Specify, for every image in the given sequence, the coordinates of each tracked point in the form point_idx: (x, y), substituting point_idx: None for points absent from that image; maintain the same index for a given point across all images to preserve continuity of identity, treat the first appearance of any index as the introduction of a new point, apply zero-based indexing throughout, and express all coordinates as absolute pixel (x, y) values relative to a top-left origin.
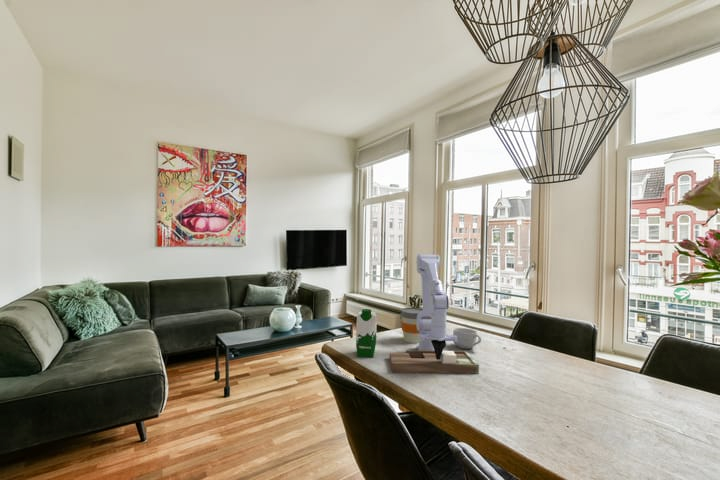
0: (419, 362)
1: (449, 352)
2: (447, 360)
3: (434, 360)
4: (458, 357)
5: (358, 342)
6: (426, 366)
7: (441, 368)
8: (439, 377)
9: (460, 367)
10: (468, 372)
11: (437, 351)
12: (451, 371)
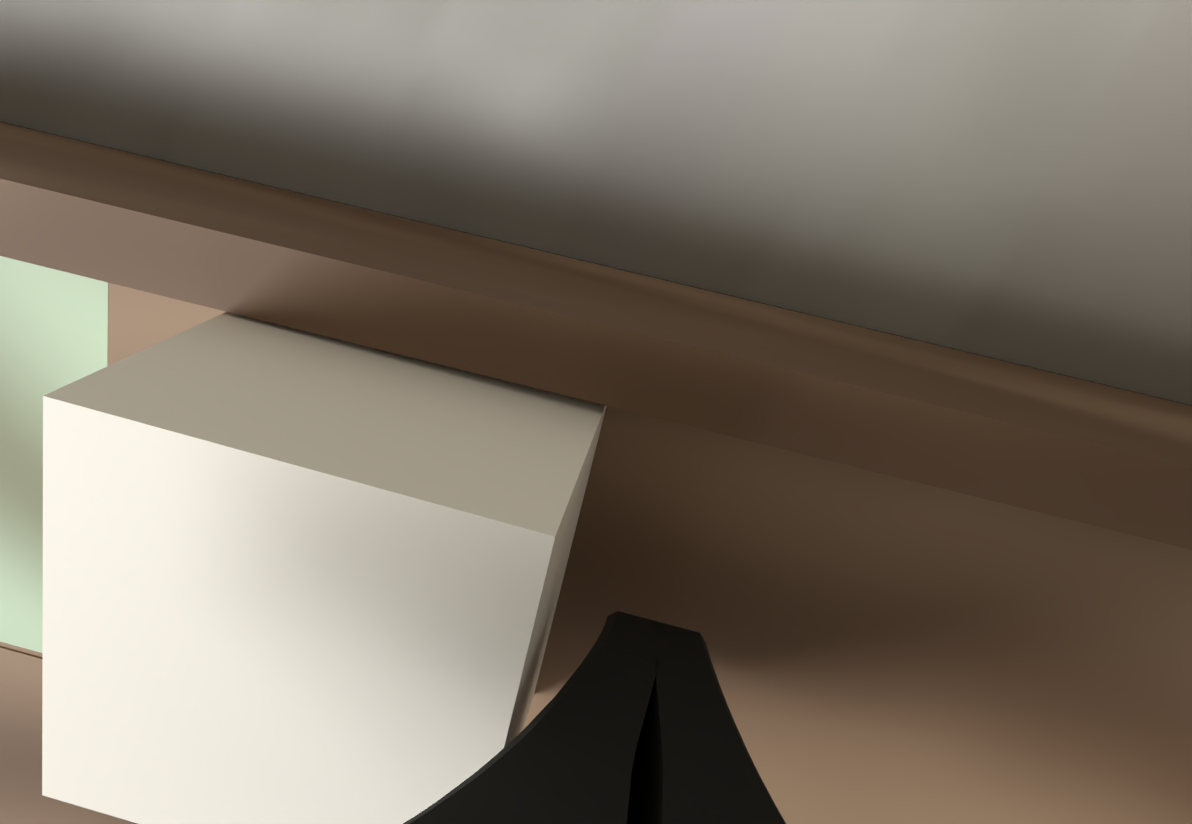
0: (1188, 722)
1: (208, 712)
2: (453, 415)
3: None
4: (22, 728)
5: None
6: (1157, 442)
7: (705, 315)
8: (907, 33)
9: (170, 198)
10: (50, 139)
11: (718, 798)
12: (450, 238)
